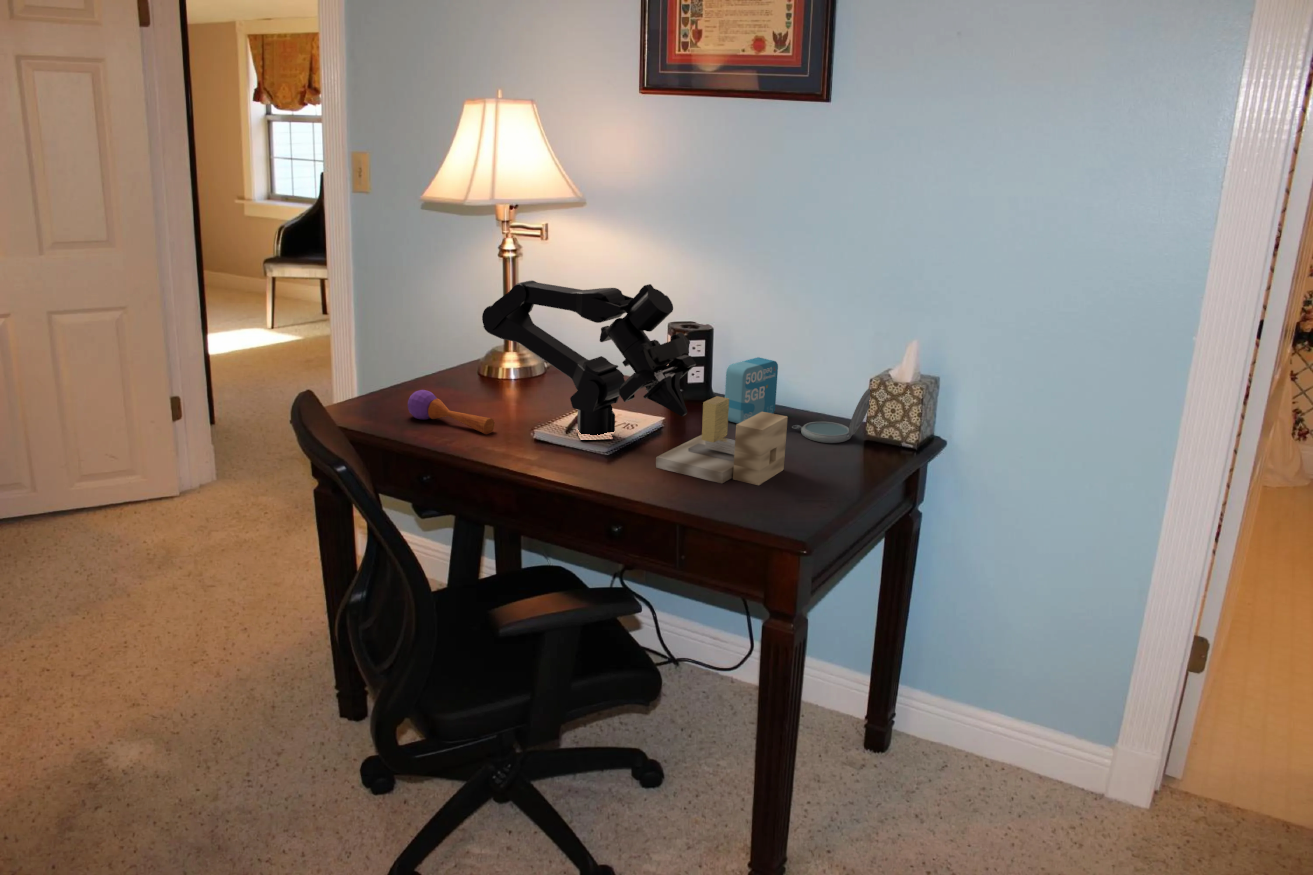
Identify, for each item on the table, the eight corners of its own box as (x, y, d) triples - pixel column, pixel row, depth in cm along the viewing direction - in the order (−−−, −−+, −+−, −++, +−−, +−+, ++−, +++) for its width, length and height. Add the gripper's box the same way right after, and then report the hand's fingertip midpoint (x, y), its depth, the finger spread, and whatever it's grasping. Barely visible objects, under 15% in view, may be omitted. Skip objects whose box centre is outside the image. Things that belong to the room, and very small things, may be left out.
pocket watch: (861, 395, 201) (786, 383, 207) (856, 450, 204) (783, 437, 211) (876, 383, 210) (804, 372, 216) (871, 436, 213) (800, 424, 219)
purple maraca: (477, 419, 202) (399, 393, 212) (480, 446, 205) (403, 420, 214) (497, 406, 207) (420, 382, 216) (500, 433, 210) (423, 408, 219)
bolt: (701, 450, 191) (703, 402, 189) (714, 443, 196) (717, 396, 193) (735, 458, 188) (738, 409, 185) (748, 450, 192) (751, 402, 189)
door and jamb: (655, 467, 191) (657, 414, 188) (700, 445, 204) (702, 394, 201) (750, 490, 182) (754, 434, 178) (790, 465, 195) (794, 412, 191)
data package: (740, 426, 216) (743, 369, 212) (722, 421, 219) (725, 365, 215) (775, 415, 225) (779, 359, 221) (757, 410, 228) (761, 355, 224)
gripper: (634, 328, 184) (687, 401, 182) (689, 312, 200) (738, 379, 197) (596, 365, 191) (646, 436, 189) (652, 347, 206) (699, 412, 204)
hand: (684, 414), depth 194 cm, fingers closed
